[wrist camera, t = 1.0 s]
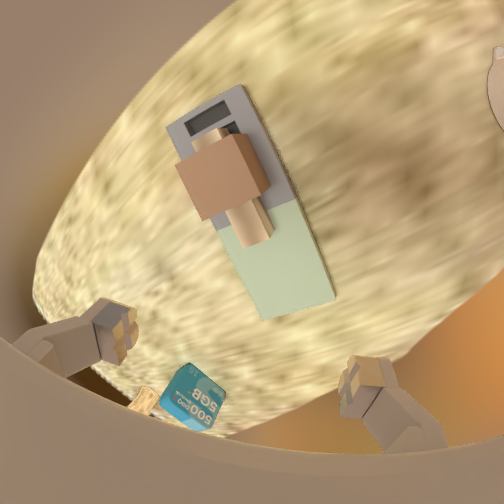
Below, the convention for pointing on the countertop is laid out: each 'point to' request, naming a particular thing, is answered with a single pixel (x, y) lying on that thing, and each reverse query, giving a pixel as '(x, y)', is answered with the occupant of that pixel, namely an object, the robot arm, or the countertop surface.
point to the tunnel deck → (244, 189)
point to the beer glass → (144, 401)
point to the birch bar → (246, 214)
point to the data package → (192, 398)
